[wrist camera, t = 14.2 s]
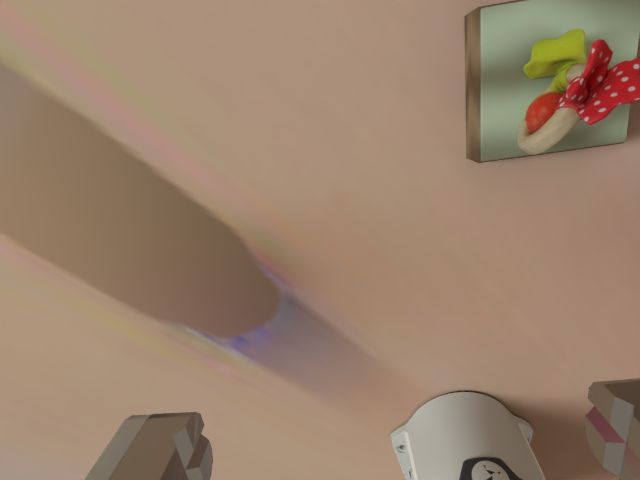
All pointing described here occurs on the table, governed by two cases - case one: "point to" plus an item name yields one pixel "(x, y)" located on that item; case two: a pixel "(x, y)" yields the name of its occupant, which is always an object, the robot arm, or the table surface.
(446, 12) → the table surface
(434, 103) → the table surface
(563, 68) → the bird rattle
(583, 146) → the sage green square tile
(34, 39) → the table surface
